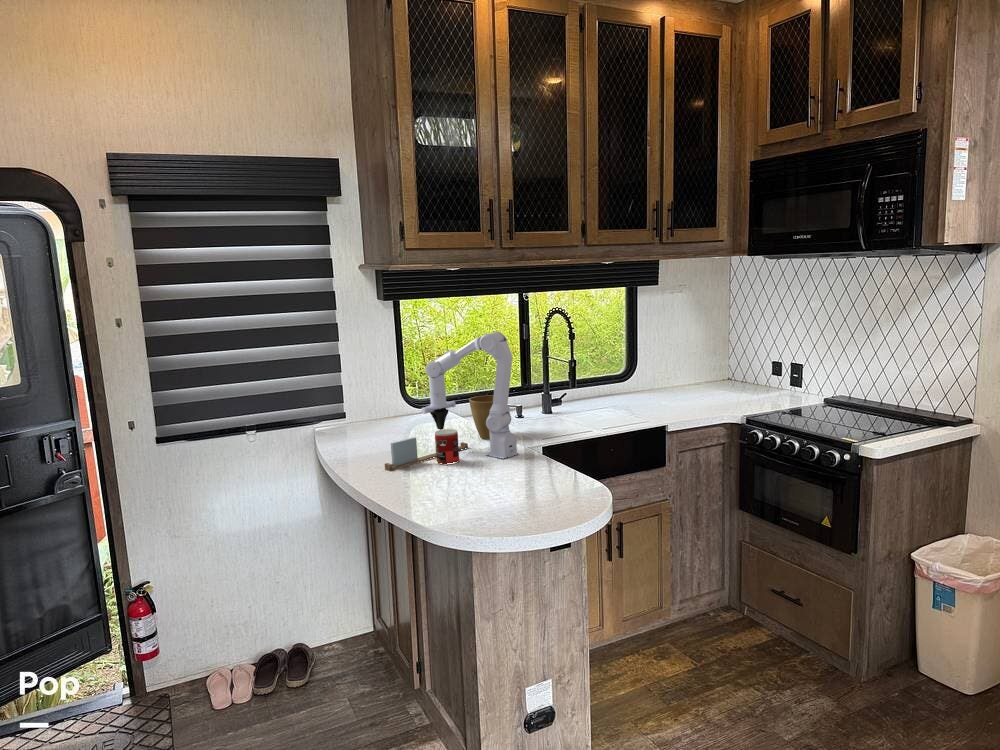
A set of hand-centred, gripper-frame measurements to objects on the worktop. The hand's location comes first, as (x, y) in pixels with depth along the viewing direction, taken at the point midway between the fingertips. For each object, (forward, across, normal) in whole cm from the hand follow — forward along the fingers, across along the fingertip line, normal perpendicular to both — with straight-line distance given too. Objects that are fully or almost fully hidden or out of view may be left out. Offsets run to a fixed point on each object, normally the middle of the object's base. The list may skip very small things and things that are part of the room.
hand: (440, 429), depth 257 cm
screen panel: (+8, +19, +3) cm, 21 cm away
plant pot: (+9, -25, 0) cm, 27 cm away
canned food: (+9, +8, +13) cm, 18 cm away
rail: (+9, +9, +3) cm, 13 cm away
